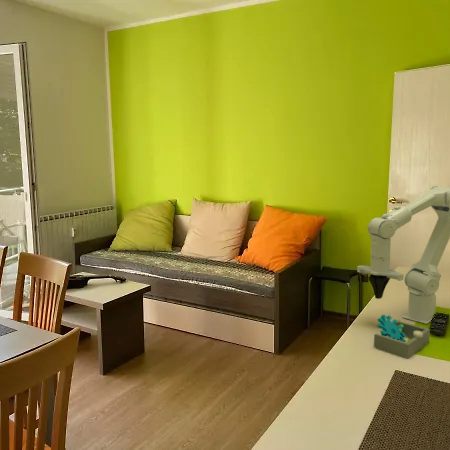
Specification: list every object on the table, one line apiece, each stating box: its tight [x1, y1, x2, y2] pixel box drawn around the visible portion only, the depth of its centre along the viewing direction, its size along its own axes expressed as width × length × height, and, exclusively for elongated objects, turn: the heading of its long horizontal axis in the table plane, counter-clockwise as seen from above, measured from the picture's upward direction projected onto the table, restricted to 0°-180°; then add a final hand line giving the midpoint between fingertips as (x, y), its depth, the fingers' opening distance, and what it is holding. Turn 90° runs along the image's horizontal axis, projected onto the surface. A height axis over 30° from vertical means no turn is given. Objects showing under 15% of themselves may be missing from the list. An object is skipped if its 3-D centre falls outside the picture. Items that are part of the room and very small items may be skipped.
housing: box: [373, 319, 431, 359], centre depth 131 cm, size 14×11×5 cm
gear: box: [377, 314, 407, 343], centre depth 134 cm, size 11×6×10 cm
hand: (378, 297), depth 144 cm, fingers closed
